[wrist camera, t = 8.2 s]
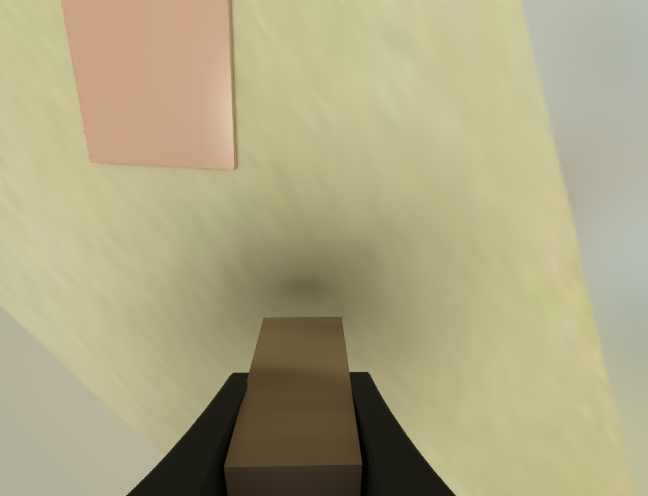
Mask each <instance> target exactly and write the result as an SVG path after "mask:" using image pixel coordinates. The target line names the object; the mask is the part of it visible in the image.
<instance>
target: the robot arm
mask: <svg viewBox="0 0 648 496" xmlns="http://www.w3.org/2000/svg"><path fill="white" fill-rule="evenodd" d="M248 375H249V373H233V374H231V375H230V376H229V378H228V379H227V381H226V382H225V384H224V385H223V386H222V388H221V389H220V391H219V392H218V393H217V395H216V396H215V397H214V399H213V400H212V401H211V403H210V404H209V405H208V406H207V408H206V409H205V410H204V412H203V413H202V414H201V415H200V416H199V418H198V419H197V420H196V421H195V423H194V424H193V425H192V426H191V428H190V429H189V430H188V431H187V432H186V434H185V435H184V436H183V437H182V438H181V439H180V440H179V441H178V443H177V444H176V445H175V446H174V447H173V448H172V449H171V450H170V452H169V453H168V454H167V455H166V456H165V457H164V458H163V459H162V461H160V462H159V464H158V465H157V466H156V467H155V468H154V469H153V470H152V471H151V472H150V473H149V474H148V475H147V476H146V477H145V478H144V479H143V480H142V481H141V482H140V483H139V484H138V485H137V486H136V487H135V488H134V489H133V490H132V491H131V492H130V493H129V494H128V495H126V496H228V494H227V487H226V479H225V472H224V465H225V461H226V458H227V454H228V450H229V446H230V443H231V439H232V435H233V431H234V428H235V424H236V420H237V416H238V413H239V409H240V406H241V403H242V400H243V398H244V395H245V393H246V389H247V385H248V383H247V379H248ZM349 375H350V382H351V389H352V396H353V403H354V410H355V417H356V424H357V431H358V438H359V446H360V453H361V460H362V475H361V491H360V496H456V495H455V494H454V493H453V492H452V491H451V490H450V489H449V487H448V486H447V485H446V484H445V483H444V482H443V480H442V479H441V478H440V477H439V476H438V475H437V473H436V472H435V471H434V470H433V469H432V467H431V466H430V465H429V464H428V462H427V461H426V460H425V459H424V457H423V456H422V455H421V453H420V452H419V451H418V450H417V448H416V447H415V446H414V444H413V443H412V442H411V440H410V439H409V437H408V436H407V435H406V433H405V432H404V430H403V429H402V427H401V426H400V424H399V423H398V421H397V420H396V418H395V417H394V415H393V414H392V412H391V411H390V409H389V408H388V406H387V404H386V403H385V401H384V399H383V398H382V396H381V394H380V393H379V391H378V389H377V387H376V385H375V383H374V381H373V380H372V378H371V375H370V374H369V373H368V372H349Z"/></svg>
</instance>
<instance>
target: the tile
mask: <svg viewBox="0 0 648 496" xmlns="http://www.w3.org/2000/svg"><path fill="white" fill-rule="evenodd" d="M61 3H62V9H63V14H64V20H65V25H66V31H67V36H68V42H69V47H70V53H71V59H72V64H73V70H74V75H75V81H76V86H77V92H78V97H79V103H80V108H81V114H82V119H83V125H84V130H85V136H86V141H87V147H88V152H89V158H90V163H110V164H129V165H149V166H169V167H188V168H208V169H227V170H235V169H237V156H236V126H235V97H234V67H233V38H232V8H231V0H61Z"/></svg>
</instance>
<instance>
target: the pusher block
mask: <svg viewBox="0 0 648 496" xmlns="http://www.w3.org/2000/svg"><path fill="white" fill-rule="evenodd" d="M247 383H248V385H247V389H246V393H245V395H244V398H243V400H242V403H241V406H240V409H239V413H238V416H237V420H236V424H235V428H234V431H233V435H232V439H231V443H230V446H229V450H228V454H227V458H226V461H225V465H224V472H225V479H226V487H227V494H228V496H360V491H361V475H362V460H361V453H360V446H359V438H358V431H357V424H356V417H355V410H354V403H353V396H352V389H351V382H350V375H349V367H348V360H347V353H346V346H345V339H344V332H343V325H342V318H341V317H302V318H264V319H263V323H262V326H261V330H260V334H259V338H258V341H257V345H256V349H255V353H254V356H253V360H252V364H251V368H250V371H249V375H248V379H247Z"/></svg>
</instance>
